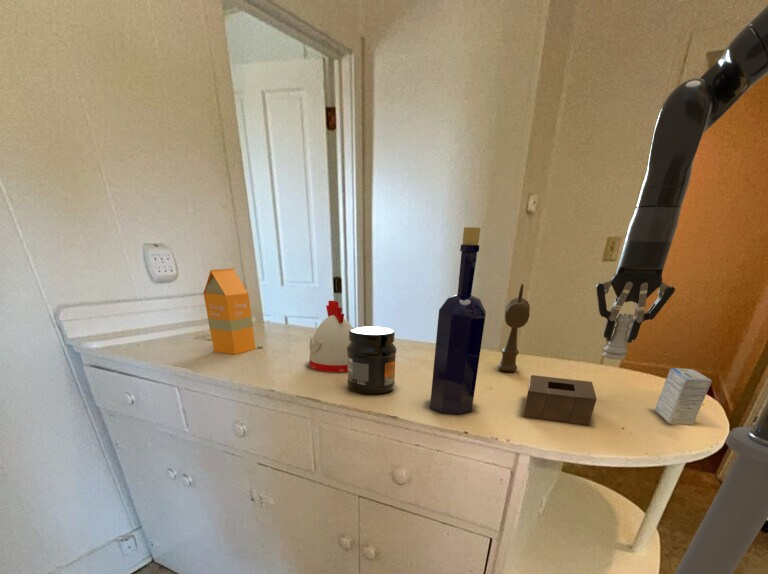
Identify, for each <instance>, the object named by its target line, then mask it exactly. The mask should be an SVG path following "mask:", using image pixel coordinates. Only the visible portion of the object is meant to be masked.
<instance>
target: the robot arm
mask: <svg viewBox="0 0 768 574" xmlns="http://www.w3.org/2000/svg"><path fill="white" fill-rule="evenodd" d="M767 75H768V4H767V5H766V6H765V7H764V8H763V9H761V10H760V12H759V13H757V14H756V15H755V16H754V17H753V18H752V19H751V20H750V21H749V22H748V23H747V24H746V25H745V26H744V27H742V29H741V30H740V31H739V32H737V34H736V35H735V36H734V37H733V38H732V40H731V41H730V42H729V43H728V45H727V46H726V48H725V50H724V51H723V53H722V54H721V56H720V57H719V58H718V59H717V60H716V61H715V63H713V64H712V65H711V66H710V67H709V68H708V69H707V71H705V72H704V73H703V74H701V76H700V77H699V78H698V77H697V78H695V77H694V78H689V79H687V80H685V81H683V82H681V83H679V84H678V85H677V86H676V87H675V88H674V89H673V90H671V92H670V93H669V94H668V95H667V97H666V99H665V100H664V102H663V103H662V105H661V108H660V110H659V113H658V116H657V119H656V122H655V123H656V124H655V127H654V130H653V137H652V141H651V146H650V151H649V155H648V163H647V167H646V171H645V172H646V173H645V175H644V178H643V181H642V183H641V187H640V191H639V195H638V197H637V201H636V204H635V209H634V211H633V214H632V217H631V220H630V222H629V224H628V229H627V231H626V234H625V240H624V242H623V247H622V251H621V254H620V258H619V261H618V264H617V268H616V271H615V273H614V274H613V276H611V279H610V280H607V281H604V282H598V283H596V284H595V291H596V299H597V306H598V312H599V315H600V316H601V317H602V318H605V319H606V323H605V327H604V330H603V337H604V339H605V341H606V342H610V340H611V338H612V336H613V334H614V331H615V328H614V327H615V326H616V324H617V322H616V320H615V319H616V318H617V317H618V316H619V314H620V311H621V309H622V308H623V306H624V304H625V303H630V302H632V303H635V304H634V309H635V310H634V316H633V317H634V318H633V320H634V321H633V322H632V323H631V324H630V326H629V328H630V329H629V330H628V333H627V338H626V344H632V342H633V341H636V339H637V337H638V335H639V332H640V328H641V325H642V323H643V322H645V321H649V320H650V321H651V320H652V321H653V320H654V319H655V318H656V316H657V315H658V314H659V313H660V311H661V310H662V308H663V307H664V306H665V305H666V304H667V302H668V301H669V300H670V298H671V297H672V296H673V294H674V293H675V291H676V288H675V287H674V286H672V285H668V284H667V283H664V282H663V271H664V269H665V266H666V262H667V259H668V255H669V253H670V250H671V246H672V244H673V240H674V237H675V234H676V231H677V228H678V225H679V220H680V214H681V210H682V207H683V204H684V201H685V198H686V196H687V191H688V188H689V186H690V182H691V178H692V173H693V164H694V161H695V158H696V154H697V152H698V149H699V146H700V143H701V140H702V138H703V134H704V133H706V132H707V131H708V130H709V129H710V128H712V127H713V125H715V123H717V122H718V120H720V118H722V117H723V116H724V115H725V114H726V113H727V112H728V111H729V110H730V109H731V108H732V107H733V106H734V105H735V103H737V102H738V101H739V100H740V99H741V98H742V97H743V96H744V94H745V93H747V92H748V91H749V90H750V89H751V88H752V87H753V86H754V85H756V84H757V83H758V82H760V81H761V80H762V79H763V78H764V77H766V76H767ZM611 286H612V287H611ZM610 288H612V289H613V291H614V294H615V296H616V297H615V298H614V299H615V300H614V301H613V304H612V307H611V309H610V310H608V308H607V300H606V299H607V298H606V295H607V294H608V293H609V291H610ZM657 290H658V291H657ZM655 291H657V298H656V300H655V301H654V302H653V303H652V305H651V306H650V308H649V309H648V311H645V309H646V304H647V299H648V298H649V297H650V296H651V295H652V294H653V293H655ZM752 423H753V424H752V426H751V427H752V429H751V430H750V431H749V433H748V437H749V438H750V439H751V440H753V441H755V442H757V443H759V444H761V445H764V446H767V447H768V398H767V399H766V401H765V403H764V404H763V406H762V408H761V411H760V412H759V414H758V415H756V416H754V418H753V420H752Z"/></svg>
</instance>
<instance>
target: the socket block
mask: <svg viewBox="0 0 768 574" xmlns="http://www.w3.org/2000/svg"><path fill="white" fill-rule="evenodd" d="M593 384H594V383H593V381H588V380H580V379H570V378H561V377H553V376H543V375H536V374H535V375H534V374H531V375H530V379H529V384H528V388H527V393H526V397H525V402H524V407H523V409H524V410H523V414H522V417H524V418H531V419H538V420H545V421H546V420H547V421H553V422H559V423H560V422H562V423H569V424H575V425H583V426H590V423H591V420H592V415H593V413H594V409H595V406H596V403H597V400H598V398H597V395H596V392H595V388H594V385H593Z"/></svg>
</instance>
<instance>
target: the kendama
mask: <svg viewBox="0 0 768 574" xmlns="http://www.w3.org/2000/svg"><path fill="white" fill-rule="evenodd" d="M523 294H524V283H521V285H520V287H519V291H518V296H517V297H514V298H512V299H510V300H509V301H508V303H506V305H505V309H504V321H505V323H506V325H507V326H508V327H509V328H510V331H509V335H508V338H507V341H506V344H505V346H504V348H503V349H502V350H501V354H502V357H501V360H500V362H499V364H497V369H498V370H500V371H501V372H506V373H508V372H509V373H511V372H515V371H517V370H518V366H517V356H518V355H519V353H520V351H519V349H518V331H519V330H518V329H521V328H522V327H524V326H525V325H527V323H528V321H529V318H530V312H531V306H530V303H529V301H528V300H526V299H525V298H523Z"/></svg>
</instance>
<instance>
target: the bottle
mask: <svg viewBox="0 0 768 574" xmlns="http://www.w3.org/2000/svg"><path fill="white" fill-rule="evenodd" d="M480 235H481V227H470V226H467V227H465V226H464V227H463V235H462V244H460V250H459V252H460V253H461V255H460V262H459V263H460V264H459V274H458V275H459V276H458V285H457V286H458V287H457V294H453V295H450V296H448V297H447V298H446V299H445V300H444V302H443V303H442V304H441V306H440V307H439V309H438V317H437V326H436V327H437V328H436V338H435V339H436V340H435V347H434V348H435V350H434V360H433V371H432V381H431V391H430V404H429V407H428V408H429V409H431V410H433V411H435V412H438V413H439V414H446V415H457V416H459V415H460V416H461V415H464V414H469V413H472V412H473V405H474V399H475V398H474V397H475V392H476V384H477V377H478V371H479V363H480V357H481V356H480V355H481V349H482V342H483V336H484V335H483V334H484V329H485V322H486V314H487V311H486V308H485V306H484V304H483V302H482V300H481V298H480V297H477V296H475V295H473V294H472V291H473V284H474V279H475V272H476V263H477V259H478V253H480V244H479V242H480Z"/></svg>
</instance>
